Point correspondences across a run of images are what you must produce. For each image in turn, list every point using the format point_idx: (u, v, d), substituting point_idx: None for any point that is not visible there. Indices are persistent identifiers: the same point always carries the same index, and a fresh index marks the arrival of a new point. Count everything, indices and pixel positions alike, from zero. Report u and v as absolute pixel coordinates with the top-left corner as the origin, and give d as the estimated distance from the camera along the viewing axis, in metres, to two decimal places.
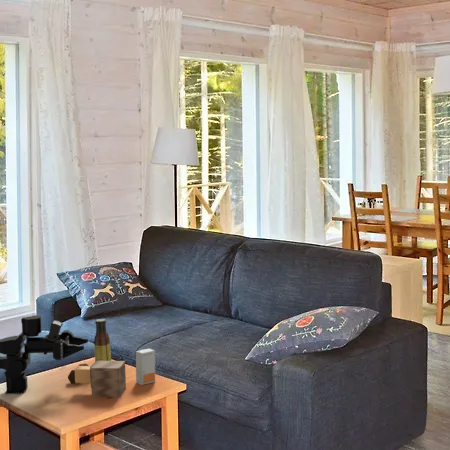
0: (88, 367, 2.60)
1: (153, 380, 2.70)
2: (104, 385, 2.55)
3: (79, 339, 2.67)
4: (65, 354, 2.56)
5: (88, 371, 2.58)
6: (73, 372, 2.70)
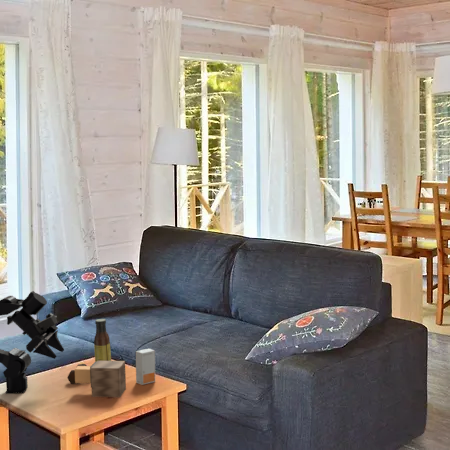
0: (88, 367, 2.60)
1: (153, 380, 2.70)
2: (104, 385, 2.55)
3: (58, 344, 2.64)
4: (37, 350, 2.54)
5: (88, 371, 2.58)
6: (73, 372, 2.70)
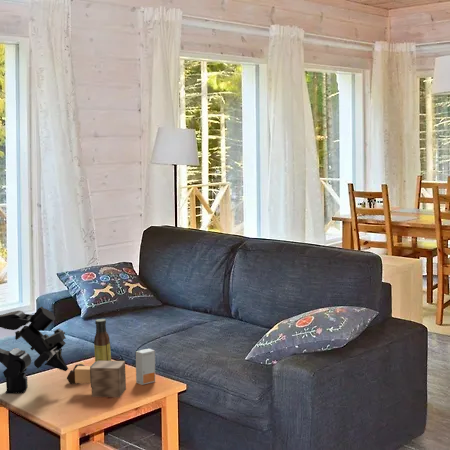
0: (88, 367, 2.60)
1: (153, 380, 2.70)
2: (104, 385, 2.55)
3: None
4: (49, 363, 2.58)
5: (88, 371, 2.58)
6: (72, 372, 2.70)
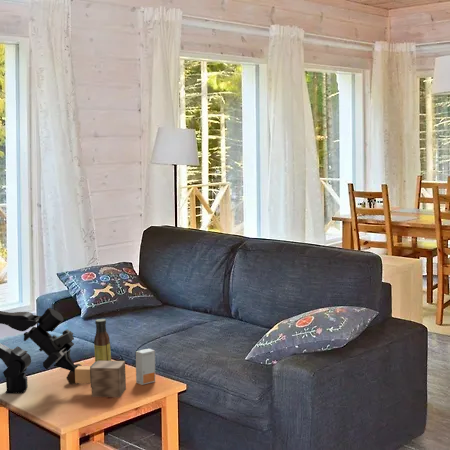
0: (88, 367, 2.60)
1: (153, 380, 2.70)
2: (104, 385, 2.55)
3: None
4: (58, 364, 2.58)
5: (88, 371, 2.57)
6: (72, 372, 2.70)
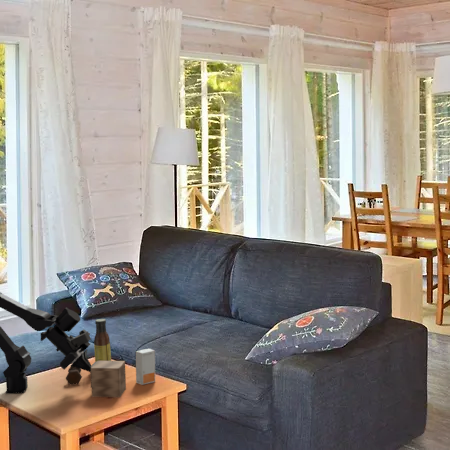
0: None
1: (153, 380, 2.70)
2: (104, 385, 2.55)
3: None
4: (74, 364, 2.57)
5: None
6: (72, 373, 2.69)
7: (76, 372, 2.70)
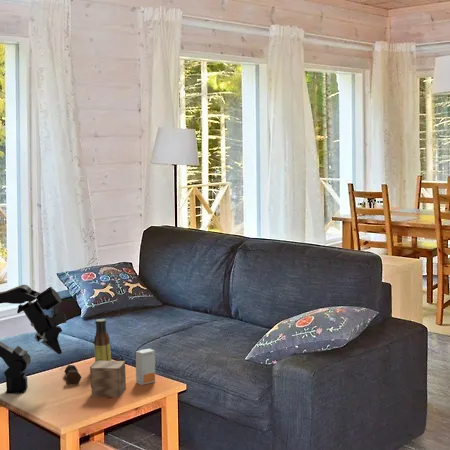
0: None
1: (153, 380, 2.70)
2: (104, 385, 2.55)
3: None
4: (48, 342, 2.59)
5: None
6: (71, 373, 2.69)
7: (76, 372, 2.70)
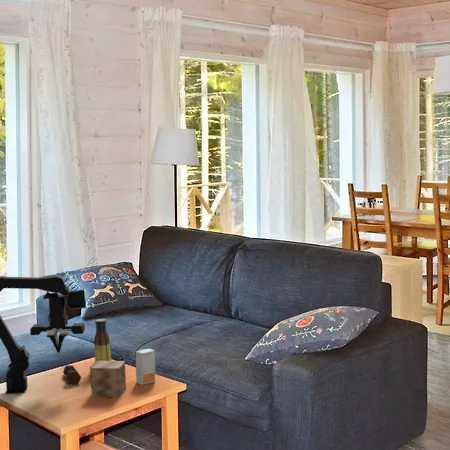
0: None
1: (153, 380, 2.70)
2: (104, 385, 2.55)
3: None
4: None
5: None
6: (71, 373, 2.69)
7: (76, 372, 2.69)
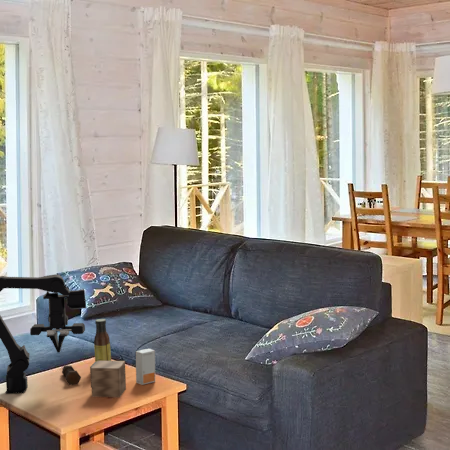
0: None
1: (153, 380, 2.70)
2: (104, 385, 2.55)
3: None
4: (63, 336, 2.63)
5: None
6: (71, 373, 2.69)
7: (76, 372, 2.69)
